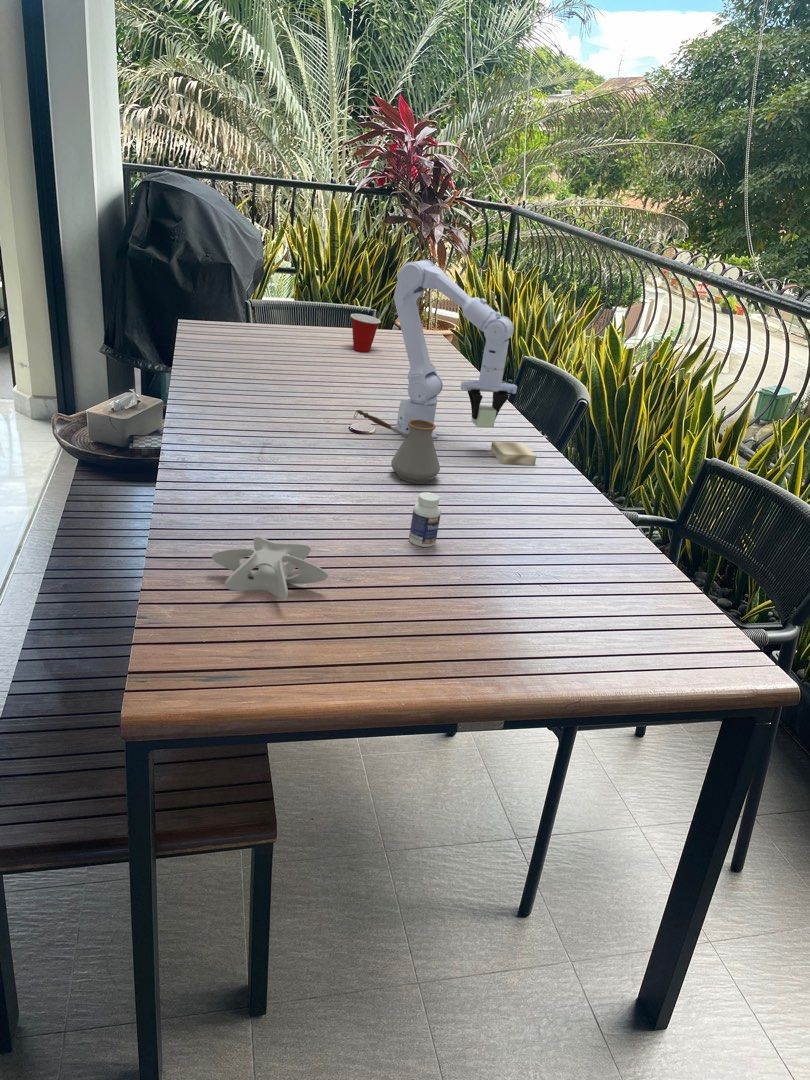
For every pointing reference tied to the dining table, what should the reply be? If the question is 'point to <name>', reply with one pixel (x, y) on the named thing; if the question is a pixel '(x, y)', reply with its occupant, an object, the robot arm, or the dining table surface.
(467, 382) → the robot arm
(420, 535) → the pill bottle
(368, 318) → the plastic cup
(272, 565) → the sculpture
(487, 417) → the sage cube
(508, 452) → the beige block
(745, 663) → the dining table surface
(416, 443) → the coffee pot
